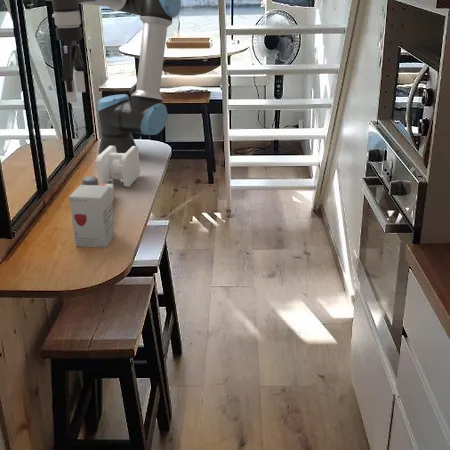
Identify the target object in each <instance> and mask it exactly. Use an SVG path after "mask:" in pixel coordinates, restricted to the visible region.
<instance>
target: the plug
mask: <svg viewBox="0 0 450 450" xmlns="http://www.w3.org/2000/svg"><path fill="white" fill-rule="evenodd" d="M98 183H99V180H98V177H96V176H93V175H87V176H84V177H83V178H82V180H81V185H98Z"/></svg>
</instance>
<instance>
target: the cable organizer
mask: <svg viewBox="0 0 450 450" xmlns="http://www.w3.org/2000/svg"><path fill="white" fill-rule="evenodd" d="M139 154H140V153H139V147H138V146H137V145H136V146H132V147H131V148H130V149H129V150H128V151H127V152H126V153H116V147H115V146H109V147H107V148H106V149H105V150H104V151H103V152H102V153H101V154H100V155H99V154H98V155H97V156H96V159H95V164H96V168H97V169H96V170H97V179H98V183H105V184H114V180H119V181H120V184H122V183H123V186H124V188H131V186H132V185H133V184H134V183H135V182H136V181H137V179H138V177H139V176H140V173H141V169H140V168H141V166H140V155H139Z"/></svg>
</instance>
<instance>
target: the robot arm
mask: <svg viewBox="0 0 450 450" xmlns="http://www.w3.org/2000/svg"><path fill="white" fill-rule="evenodd" d="M46 1H47V2H51V3H52V11H53V14H52V15H51V18H53V19H54V25H55V26H56V27H55V35H56V40H57V41H59V42H63V45H61V47H60V49H61V72H62V73H61V76H62V77H61V82H64V87H65V88H64V89H65V94H66V101H67V103H77V102H78V101H77V93H86V84H85V73H84V72H85V71H87V69H86V67H85V62H84V59H83V54H82V51H81V45H80V40H82V39H83V33H82V32H83V31H82V27H81V26H80V25H81V24H82V21H81V19H82V18H81V14H80V5H79V4H81V5H89V6H90V5H91V6H97V7H98V6H99V7H100V6H101V7H107V8H109V9H110V10H112V11H117V12H123V13H126V14H130V15H136V16H139V19H140V20H141V22H142V24H143V27H142V35H141V44H140V53H139V60H138V61H139V62H138V69H137V70H138V71H137V77H136V79H137V80H136V86H135V87H136V88H135V91H134V92H132V94H131V95H130V97H129V95H128V94H126V93H124V94H123V93H122V94H114V95H108V96H104V97H102V98H100V99H98V101H97V107H98V108H97V112H98V113H97V114H98V119H99V120H98V121H99V122H98V123H99V126H100V127H99V128H100V129H99V131H100V142H99V146H98V151H97V153H98V155H100V154H101V153H102V152H103V151H104V150H105V149H106V148H107V147H109V146H115V147H116V153H126V152H127V151H128V150H129V149H130V148H131V147H132V146H137V144H136V142H135V140H134V137H133V135H132V134H140V135H141V134H142V135H146V136H147V135H151V136H154V135H158V134H159V133H161V132H162V130H164V127H165V126H166V124H167V120H168V111H167V110H168V109H167V106H166V105H165V104H163V101H164V99H163V98H162V96H161V95H160V91H161V83H162V74H163V68H164V67H163V66H164V58H165V50H166V49H165V48H166V42H167V33H168V28H169V27H170V26H171V25H172V24H173V19H174V18H175V17H178V16H179V14H180V13H181V7H182V2H181V1H182V0H46ZM74 79H75V80H74Z"/></svg>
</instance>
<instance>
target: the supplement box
mask: <svg viewBox="0 0 450 450" xmlns="http://www.w3.org/2000/svg"><path fill="white" fill-rule="evenodd" d="M68 198H69V204H70V205H69V206H70V212H71V219H72V230H73V235H74V245H75V247H84V248H85V247H89V248H105V249H106V248H107V247H108V245H109V244H110V243H111V241H112V240H113V238H114V236H115V235H116V229H115V221H114V220H115V219H114V210H113V202H112V197H111V186H98V185H82V184H80V185H79V186H78V187H77V188H76V189H75V190H74V191H73V192H72V193H70V195H69V197H68Z"/></svg>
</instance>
